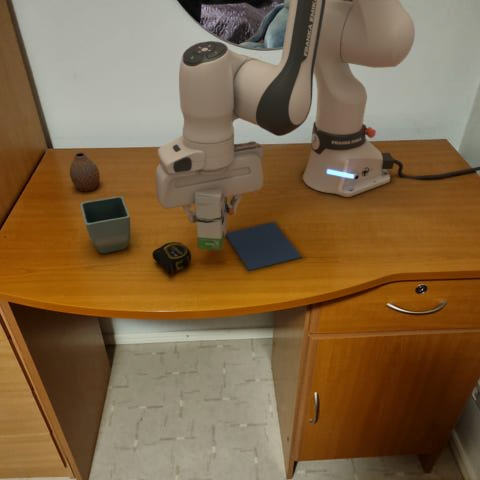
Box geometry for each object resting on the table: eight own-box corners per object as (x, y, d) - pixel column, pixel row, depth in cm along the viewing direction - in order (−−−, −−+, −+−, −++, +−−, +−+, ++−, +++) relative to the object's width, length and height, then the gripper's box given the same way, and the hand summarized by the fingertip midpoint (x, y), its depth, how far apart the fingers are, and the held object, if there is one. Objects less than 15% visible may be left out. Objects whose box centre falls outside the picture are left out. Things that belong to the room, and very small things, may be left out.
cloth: (273, 223, 110) (273, 221, 110) (301, 258, 101) (301, 256, 101) (224, 234, 107) (224, 233, 107) (248, 271, 98) (248, 269, 97)
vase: (68, 191, 120) (59, 158, 114) (84, 178, 125) (76, 146, 119) (91, 196, 118) (83, 163, 112) (107, 183, 123) (100, 150, 117)
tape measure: (152, 262, 100) (149, 247, 97) (181, 251, 102) (179, 236, 100) (168, 280, 96) (165, 265, 93) (197, 267, 98) (196, 253, 96)
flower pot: (128, 230, 108) (122, 194, 102) (136, 252, 102) (130, 216, 96) (89, 238, 106) (79, 202, 99) (94, 261, 100) (85, 224, 94)
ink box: (222, 251, 94) (220, 197, 86) (197, 249, 94) (193, 195, 86) (228, 226, 100) (227, 173, 92) (205, 224, 101) (201, 172, 92)
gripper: (256, 132, 89) (254, 199, 99) (148, 150, 84) (157, 219, 93) (270, 146, 85) (267, 214, 95) (157, 166, 80) (166, 236, 89)
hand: (212, 217), depth 94 cm, fingers closed on ink box, 6 cm apart
